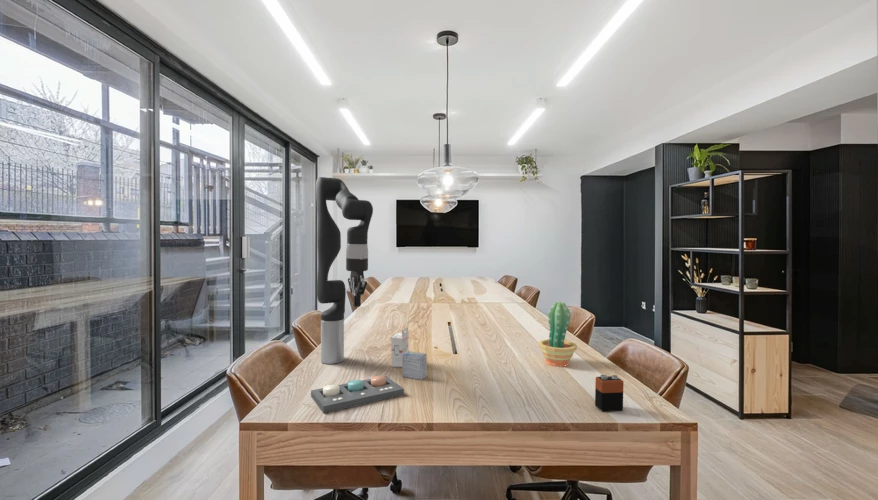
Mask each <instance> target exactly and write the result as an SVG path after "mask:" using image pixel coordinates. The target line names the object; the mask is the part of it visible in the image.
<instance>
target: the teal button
mask: <svg viewBox="0 0 878 500" xmlns="http://www.w3.org/2000/svg"><path fill="white" fill-rule="evenodd" d="M347 383H348V391H349V392H355V391H359V390H364V382H363V381H362V379H354V380H353V379H352V380H349V381H348V382H347Z"/></svg>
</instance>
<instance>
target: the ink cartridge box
mask: <svg viewBox="0 0 878 500" xmlns="http://www.w3.org/2000/svg"><path fill="white" fill-rule="evenodd" d="M390 339H391V340H390V341H391V344H390V345H391V348H390V349H391V351H390V352H391V356H390V357H391V360H390V361H391V365H390V366H391V367H393V368H403V354H404V353H405V352H407V351H409V327H408V326H406V327H404V328H402V329H401V332H397V333H395V334H394V335H393V336H392V337H391V338H390Z"/></svg>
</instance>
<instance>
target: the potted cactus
mask: <svg viewBox="0 0 878 500" xmlns="http://www.w3.org/2000/svg"><path fill="white" fill-rule="evenodd" d="M547 318H548V319H547V323H548V326H549V334H548V339H541V340H539V341H538V346H539V348H540V349H541V352H542V355H543V357H544V358H545V363H546V364H547V363H548V364H547V365H549V364H550V365H549V366H552V365H555V366H554V367H560V366H562V367H566V366H565V365H567V364H569V361H570V360H571V359H572V357H573V355H574V353H575V351H576V350H577V349H578V346H577V343H575V342H572V341H569V340H565V338H566V334H567V330H568V327H569V326H570V324H571V323H570V322H571V310H570V309H569V307H568V305H567V304H566V303H565V302H561V301H559V302H557V301H555V302H554V303H553V304H552V305H551V307H550V308H549V310H548V313H547ZM567 366H568V365H567Z"/></svg>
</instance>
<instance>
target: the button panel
mask: <svg viewBox="0 0 878 500" xmlns="http://www.w3.org/2000/svg"><path fill="white" fill-rule="evenodd" d="M384 376H385V377H386V385H383V386H379V387H372V386H371V378H368V379H363V380H362V379H361V381H363V382H364V390H359V391H355V392H349V391H348V382H347V383H342V384H341V383H340V384H337V385H338V386H339V387H340V395H335V396H330V397H326V398H324V397H323V387H321V388H317V389H311V390H310V397H311V399H312V400H313V401H314V402H315V404H316V406H318V408H319V409H320V411H321V412H322V413H323V414H326V413H330V412H335V411H338V410H344V409H347V408H352V407H356V406H361V405H364V404H370V403H374V402H378V401H382V400H383V401H384V400H387V399H392V398H397V397H400V396H401V397H402V396H404V395H405V388H403V386H401V385H400V384H398V383H397V382H395V381H394V380H393V379H391V378H390V377H388V376H387V375H384Z"/></svg>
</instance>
